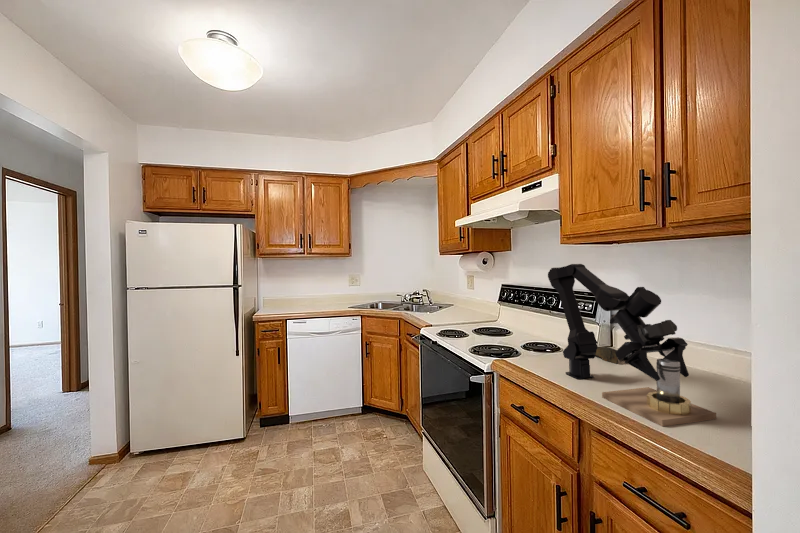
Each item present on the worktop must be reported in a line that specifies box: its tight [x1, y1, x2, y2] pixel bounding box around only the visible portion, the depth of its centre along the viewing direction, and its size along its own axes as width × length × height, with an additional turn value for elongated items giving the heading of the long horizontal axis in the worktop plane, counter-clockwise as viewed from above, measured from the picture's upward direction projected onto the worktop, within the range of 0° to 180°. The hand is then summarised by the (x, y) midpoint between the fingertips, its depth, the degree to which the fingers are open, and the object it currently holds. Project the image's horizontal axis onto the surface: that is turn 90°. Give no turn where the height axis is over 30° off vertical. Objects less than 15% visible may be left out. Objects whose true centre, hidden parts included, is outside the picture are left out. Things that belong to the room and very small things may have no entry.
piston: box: [656, 358, 681, 403], centre depth 92 cm, size 5×5×12 cm
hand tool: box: [595, 345, 619, 364], centre depth 146 cm, size 23×5×6 cm, turn 6°
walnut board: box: [601, 386, 717, 427], centre depth 95 cm, size 19×16×2 cm
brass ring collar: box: [647, 392, 692, 415], centre depth 92 cm, size 9×9×2 cm
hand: (673, 378), depth 90 cm, fingers open, 9 cm apart
